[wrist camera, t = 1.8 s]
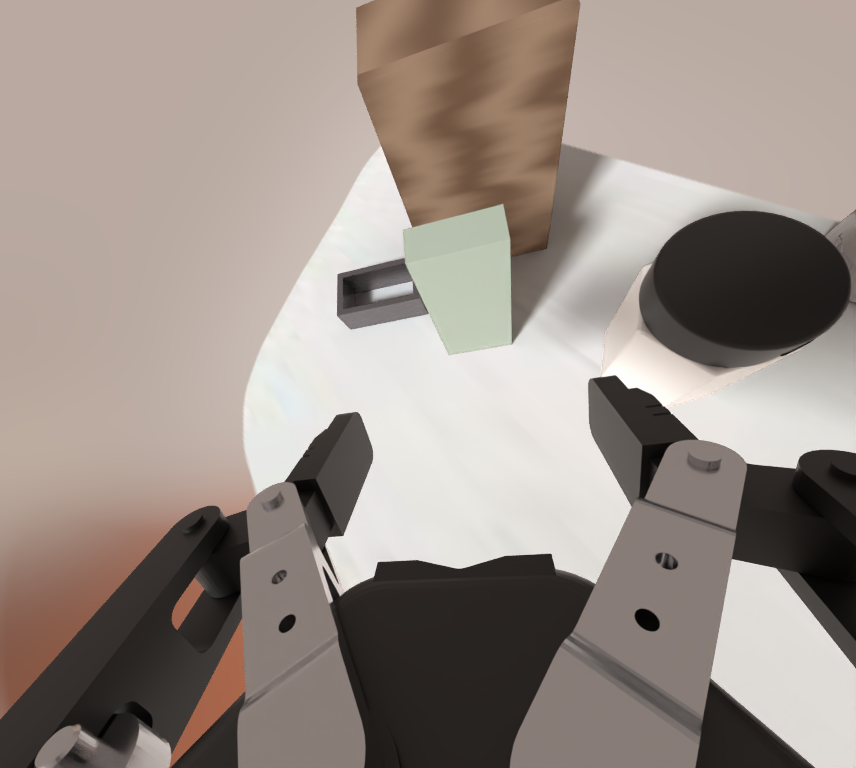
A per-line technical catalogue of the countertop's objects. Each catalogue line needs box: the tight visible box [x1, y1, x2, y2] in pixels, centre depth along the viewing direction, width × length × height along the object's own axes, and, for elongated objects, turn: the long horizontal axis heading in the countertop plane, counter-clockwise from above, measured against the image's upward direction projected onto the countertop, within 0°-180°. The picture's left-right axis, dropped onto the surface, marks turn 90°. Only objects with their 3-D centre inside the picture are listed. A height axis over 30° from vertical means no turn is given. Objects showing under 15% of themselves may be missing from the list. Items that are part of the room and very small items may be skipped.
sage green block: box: [403, 204, 512, 355], centre depth 26 cm, size 6×4×14 cm, turn 95°
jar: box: [600, 211, 851, 408], centre depth 22 cm, size 9×8×12 cm
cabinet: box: [356, 0, 580, 257], centre depth 27 cm, size 12×8×18 cm, turn 95°
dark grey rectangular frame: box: [337, 258, 428, 329], centre depth 34 cm, size 9×5×3 cm, turn 95°
